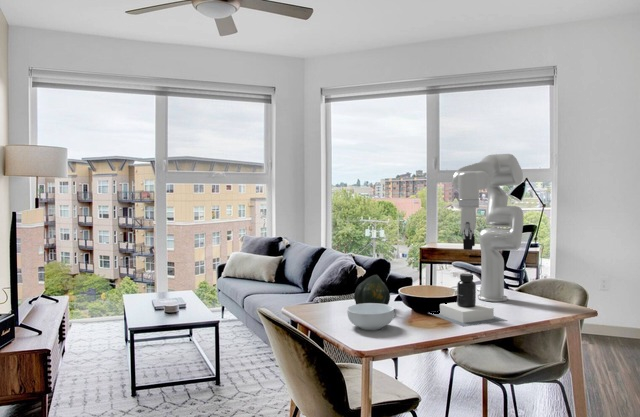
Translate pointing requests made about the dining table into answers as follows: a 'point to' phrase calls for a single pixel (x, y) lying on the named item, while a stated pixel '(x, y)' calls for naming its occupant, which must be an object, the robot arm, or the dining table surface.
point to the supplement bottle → (466, 291)
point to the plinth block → (466, 312)
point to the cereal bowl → (370, 315)
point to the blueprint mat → (496, 319)
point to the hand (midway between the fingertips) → (469, 247)
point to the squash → (372, 291)
